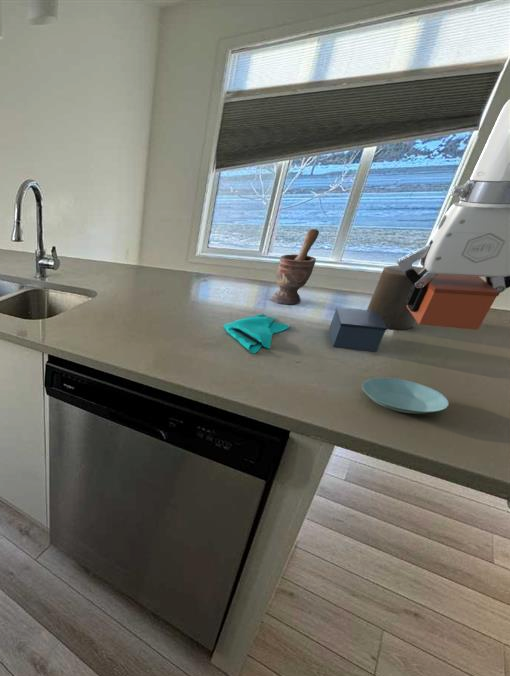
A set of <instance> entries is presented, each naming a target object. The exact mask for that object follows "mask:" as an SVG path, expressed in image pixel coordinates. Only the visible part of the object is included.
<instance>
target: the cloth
mask: <svg viewBox="0 0 510 676" xmlns="http://www.w3.org/2000/svg"><path fill="white" fill-rule="evenodd" d="M275 320H276V317H272V316H266V314H264V313H260V314H256V315H253V316H247V317H244V318H241V319H236V320H234V321H231V322H227V323H225V324H223V328H224V330H225V331H226V333H228V334H229V335H230V336H231V337H232V338H234V339H235V340H236V341H238V342H239V344H240V345H242V347H244V348H245V349H247V350H248V351H249V352H250V353H251V354H253V355H255V354H256V353H258V352H259V351H260V349H261V348H262V347H264V348H266V349H268V350H271V345H272V339H273V335H274V334H278V333H281V332H284V331H285V330H288V329H289V328H291V325H289V324H285V323H281V322H276V321H275Z"/></svg>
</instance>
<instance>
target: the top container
mask: <svg viewBox="0 0 510 676" xmlns="http://www.w3.org/2000/svg"><path fill="white" fill-rule="evenodd" d="M425 288H426V289H427V292H426V294H425V296H424V298H423V300H422V302H421V305H420V307H419V309H418V311H416V312H411V311H410V309H409V308H408V305H407V306H406V307H407V308H408V310H409V311H410V312H411V314H412V315H413V317H414V318H415V319H416V320H415V322H416V323H417V324H418V325H420V326H421V325H422V326H433V327H443V328H452V329H453V328H454V329H463V330H465V329H466V330H473V331H478V330H479V329H480V327H481V325H482V323H483V322H484V320H485V318H486V316H487V314H488V313H489V311H490V309H491V307H492V305H494V304H493V303H494V302H495V300H496V299H497V297H499V296H500V294H501V293H500V292H499V291H497V290H496V289H495V288H493V287H492V286H491V285H489V284H488V283H487V282H486V280H484V279H483V278H482V277H478V276H458V275H441V274H438V275H437V276H436V277H435V278H434V279H432V280H431V281H430V282H429V283H428V284H427V285H426V287H425Z"/></svg>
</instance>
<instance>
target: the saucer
mask: <svg viewBox="0 0 510 676" xmlns="http://www.w3.org/2000/svg"><path fill="white" fill-rule="evenodd" d="M361 389H362V390H363V392H364V393H365V394H366V396H367V397H368V398H370V400H372V401H373V402H374V403H376V404H377V405H379V406H382V407H383V408H385V409H387V410H390V411H394V412H398V413H403V414H411V415H412V414H413V415H423V414H424V415H425V414H431V413H437V412H441V411H444V410H445V409H447V408H448V407H449V405H450V403H449V400H448V398H447V397H446V396H445V395H444V394H442V393H441V392H439V391H438V390H435V389H434V388H432V387H429V386H426V385H424V384H421V383H417V382H414V381H411V380H408V379H407V380H406V379H402V378H394V377H375V378H369V379H366V380H364V382H362V384H361Z"/></svg>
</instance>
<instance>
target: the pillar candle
mask: <svg viewBox="0 0 510 676" xmlns="http://www.w3.org/2000/svg"><path fill="white" fill-rule="evenodd" d="M412 267H413V268H414V270H415V271H416V272H417V273H419V272H420V271H422V270H423V269H424V268H425V267H420V266H413V265H412ZM412 286H413V283H412V282H411V281H410V280H409V279H408V277H407V276H406V275H405V274H404V272H403V271H402V269H401V268H400V266H399V265H389V266H385V267H384V268H383V269H382V271H381V274H380V276H379V279H378V281H377V284H376V287H375V289H374V292H373V294H372V297H371V299H370V300H369V304H368V307H367V309H366V310H370V311H378V312H379V314H380V315H381V317H382V319H383V321H384V323H385V325H386V327H387V330H398V331H399V330H400V331H401V330H409V329H411V328H412V327H414V324H415V322H416V319H415V318H414V317H413V315H412V314H411V312H410V311H409V310H408V308H407V307H406V306H407V305H406V303H405V302H406V299H407V297H408V295H409V292H410V290H411V288H412Z"/></svg>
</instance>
